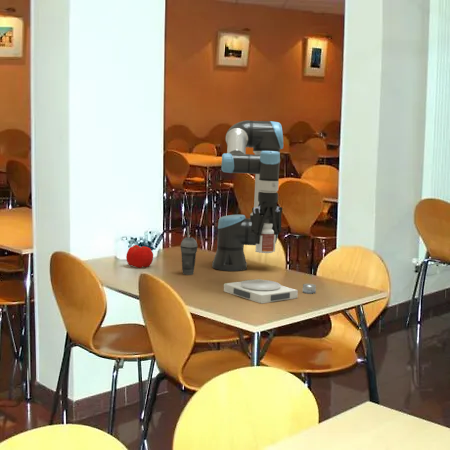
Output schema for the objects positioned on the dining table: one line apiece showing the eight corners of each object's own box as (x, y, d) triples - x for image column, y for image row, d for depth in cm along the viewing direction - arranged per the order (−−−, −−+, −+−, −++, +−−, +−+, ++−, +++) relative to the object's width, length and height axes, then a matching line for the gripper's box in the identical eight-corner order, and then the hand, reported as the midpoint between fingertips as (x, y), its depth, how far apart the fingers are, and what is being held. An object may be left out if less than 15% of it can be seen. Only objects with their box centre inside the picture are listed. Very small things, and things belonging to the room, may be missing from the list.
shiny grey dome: (299, 291, 321) (300, 284, 321) (309, 290, 324) (309, 283, 324) (308, 294, 317) (309, 287, 317) (318, 293, 320) (318, 285, 320)
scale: (222, 291, 315) (223, 280, 315) (259, 286, 327) (259, 276, 326) (261, 303, 298) (261, 292, 297) (298, 298, 310) (298, 287, 309)
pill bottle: (276, 253, 315) (277, 224, 313) (263, 253, 311) (265, 224, 310) (266, 250, 320) (268, 222, 319) (253, 251, 317) (255, 222, 315)
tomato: (157, 267, 355) (158, 247, 354) (132, 270, 349) (133, 249, 347) (145, 263, 364) (146, 243, 363) (121, 265, 357) (121, 244, 356)
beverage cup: (186, 276, 340) (188, 228, 338) (175, 273, 346) (177, 226, 343) (200, 274, 345) (202, 227, 342) (189, 271, 351) (191, 224, 348)
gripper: (255, 193, 304) (252, 254, 307) (293, 192, 316) (290, 251, 319) (242, 191, 310) (239, 251, 312) (280, 190, 322) (277, 248, 324)
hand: (265, 251), depth 316 cm, fingers closed on pill bottle, 6 cm apart
